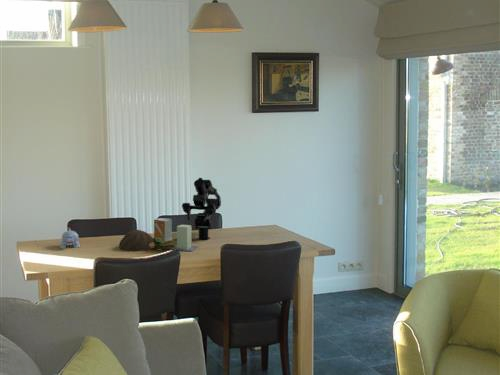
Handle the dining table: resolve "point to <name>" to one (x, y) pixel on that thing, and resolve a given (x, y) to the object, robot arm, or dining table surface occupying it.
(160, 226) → the small box
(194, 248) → the slate mat
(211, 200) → the robot arm
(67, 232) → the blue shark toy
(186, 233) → the sage block
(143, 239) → the decorative dome
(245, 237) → the dining table surface
